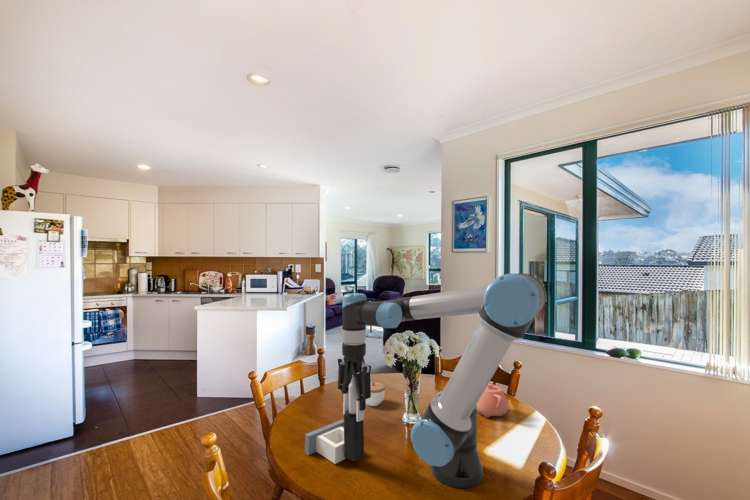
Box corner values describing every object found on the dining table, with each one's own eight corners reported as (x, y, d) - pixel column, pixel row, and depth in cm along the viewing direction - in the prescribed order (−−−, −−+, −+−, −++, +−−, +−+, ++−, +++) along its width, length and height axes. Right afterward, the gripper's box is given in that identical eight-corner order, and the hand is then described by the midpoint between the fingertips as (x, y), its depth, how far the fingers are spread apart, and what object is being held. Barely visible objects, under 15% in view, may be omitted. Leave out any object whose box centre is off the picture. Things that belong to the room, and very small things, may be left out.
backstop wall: (346, 437, 122) (346, 420, 122) (308, 455, 111) (308, 436, 111) (342, 435, 123) (343, 418, 123) (304, 452, 112) (305, 434, 112)
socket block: (359, 451, 113) (359, 436, 113) (335, 464, 106) (335, 447, 106) (339, 440, 120) (340, 425, 120) (316, 451, 113) (316, 435, 113)
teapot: (490, 401, 155) (490, 374, 156) (517, 422, 136) (516, 391, 136) (463, 403, 153) (463, 376, 153) (486, 424, 133) (486, 393, 134)
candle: (355, 462, 104) (354, 377, 105) (342, 457, 106) (341, 375, 108) (365, 454, 108) (364, 373, 109) (352, 449, 111) (351, 371, 112)
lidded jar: (389, 402, 154) (389, 380, 154) (376, 410, 145) (377, 388, 145) (369, 396, 160) (369, 376, 160) (356, 404, 150) (356, 383, 151)
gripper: (383, 345, 105) (383, 422, 104) (344, 336, 118) (343, 404, 117) (365, 349, 100) (365, 431, 99) (326, 339, 113) (326, 411, 112)
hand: (353, 416), depth 108 cm, fingers closed on candle, 6 cm apart
